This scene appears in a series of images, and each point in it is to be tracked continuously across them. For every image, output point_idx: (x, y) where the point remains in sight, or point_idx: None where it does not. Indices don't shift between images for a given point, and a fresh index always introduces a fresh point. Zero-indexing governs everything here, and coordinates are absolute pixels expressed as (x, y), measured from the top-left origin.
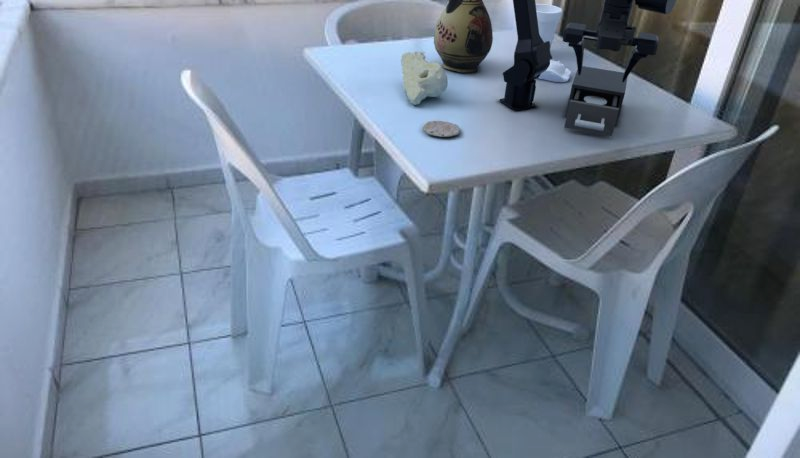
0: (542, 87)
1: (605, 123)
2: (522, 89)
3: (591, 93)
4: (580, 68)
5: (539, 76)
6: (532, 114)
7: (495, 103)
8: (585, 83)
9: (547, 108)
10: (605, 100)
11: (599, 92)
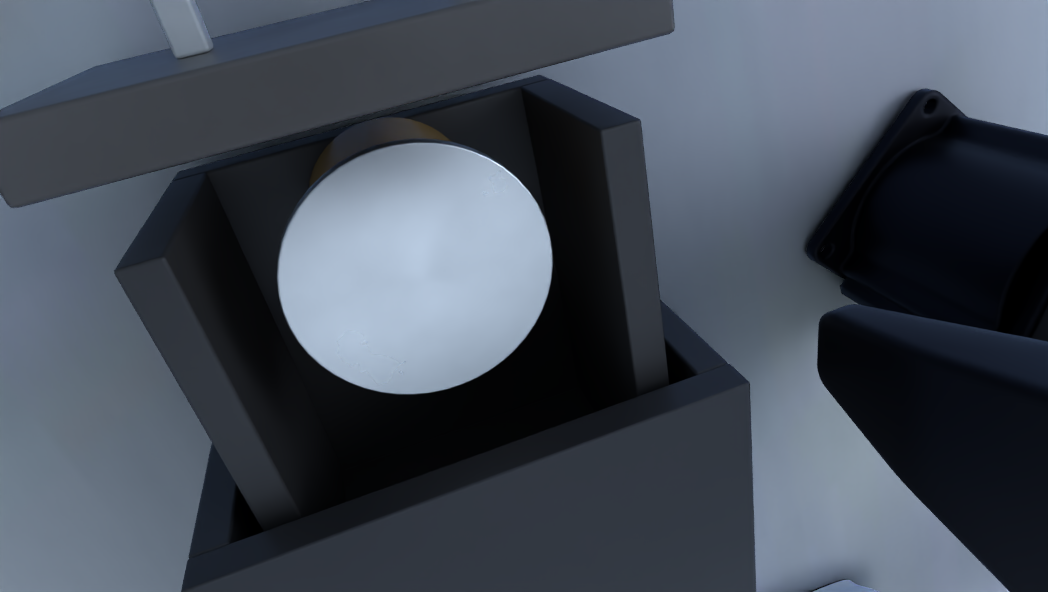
0: (807, 514)
1: (164, 59)
2: (1032, 186)
3: None
4: (948, 349)
5: (845, 590)
6: (804, 128)
7: (1029, 127)
8: (638, 492)
9: (734, 292)
10: (324, 354)
11: None
